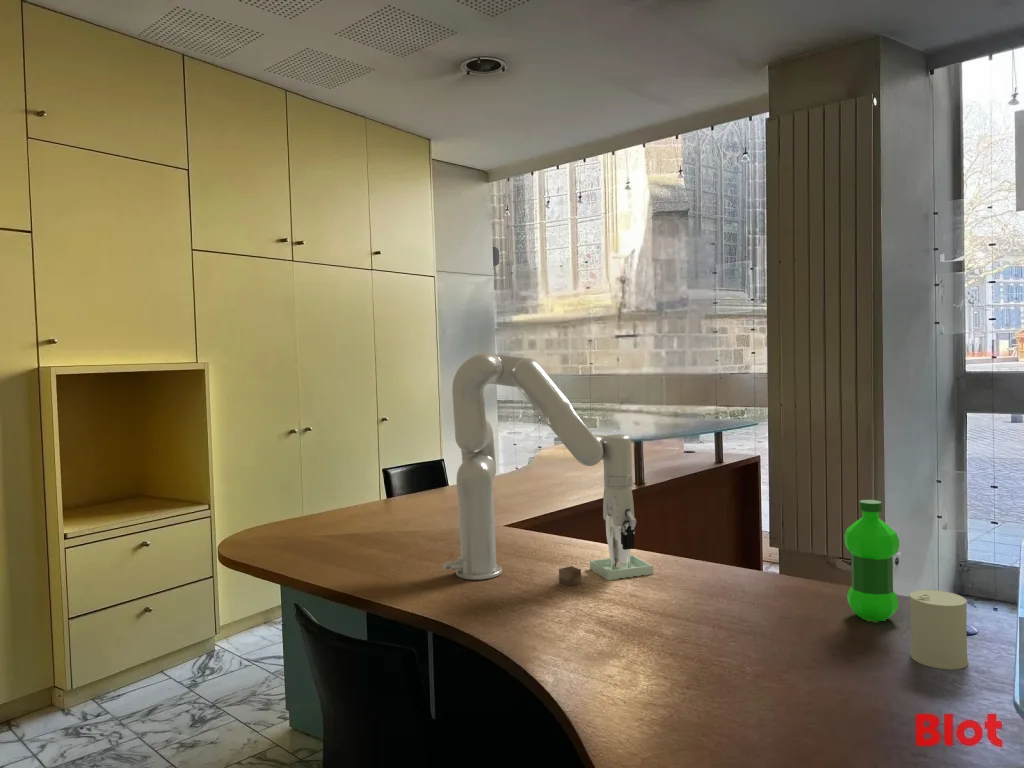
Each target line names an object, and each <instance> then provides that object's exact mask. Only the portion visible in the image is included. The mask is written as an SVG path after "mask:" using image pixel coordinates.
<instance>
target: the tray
mask: <svg viewBox="0 0 1024 768" xmlns="http://www.w3.org/2000/svg"><path fill="white" fill-rule="evenodd" d="M630 562H631V567H632V568H626V569H619V570H611V571H610V570H609V564H610V557H609V558H599V559H595V560H594V559H593V560H589V569H590V570H591V569H592V570H593V571H592V570H591V571H592V572H594V571H595V572H596V573H595V572H594V573H595V574H597V573H598V574H599V575H598V574H597V575H598V576H600V575H601V576H602V578H603V577H604V578H605V579H604V578H603V579H604V580H606V579H607V580H608V581H613V580H612V579H615V580H620V579H619V578H623V579H627V578H626V577H630V578H634V577H633V576H637V577H642V576H641V575H644V576H649V575H648V574H652V575H654V565H652V564H651V563H649V562H647V561H645V560H644V559H641V558H639V557H638V556H636V555H634V554H633V555H631V554H630ZM601 576H600V577H601ZM607 580H606V581H607Z"/></svg>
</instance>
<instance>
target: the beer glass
mask: <svg viewBox="0 0 1024 768" xmlns="http://www.w3.org/2000/svg"><path fill="white" fill-rule="evenodd" d="M625 522H628V521H624V522H623V523H625ZM605 523H606V524H605V532H606V533H605V534H606V542H607V546H608V549H609V550H608V551H609V558H610V564H609V570H610V571H611V570H619V569H626V568H632V567H631V562H630V556H631V549H628V550H624V549H623V547H622V534H624V533H623V530H622V527H621V525H620V526H615V525H614V524H613V517H612V516H609V515H608V514H606V521H605ZM625 527H626V529H627V527H628V526H625Z"/></svg>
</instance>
